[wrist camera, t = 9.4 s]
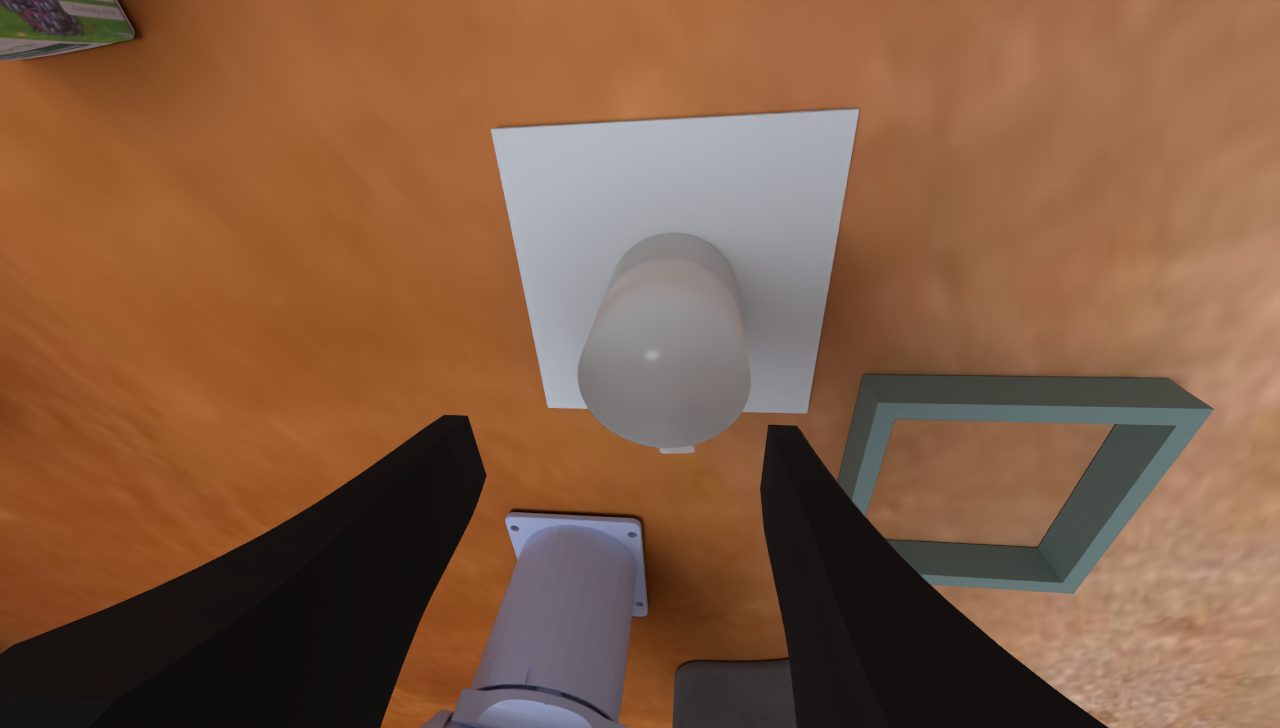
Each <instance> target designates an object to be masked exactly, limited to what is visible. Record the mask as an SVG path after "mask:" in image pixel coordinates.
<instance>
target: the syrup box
mask: <svg viewBox="0 0 1280 728" xmlns="http://www.w3.org/2000/svg"><path fill="white" fill-rule="evenodd" d="M134 35H135V31H134V29H133V27H132V25H131V24H130V22H129V20H128V19H127V17H126V15H125V13H124V11H123V10H122V8H121V6H120V4H119V3H118V1H117V0H0V61H11V60H21V59H30V58H37V57H44V56H52V55H58V54H63V53H68V52H73V51H79V50H84V49H89V48H94V47H98V46H103V45H109V44H113V43H116V42H122V41H127V40H132V39H133V38H134Z"/></svg>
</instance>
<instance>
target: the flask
mask: <svg viewBox="0 0 1280 728" xmlns="http://www.w3.org/2000/svg"><path fill="white" fill-rule="evenodd" d="M673 728H797V725H796V715H795V706H794V697H793V688H792V680H791V671H790V663H789V659H783V660H772V661H755V662H719V661H695V662H689V663H686V664H685V665H683V666H681V667H680V668H679V669H678V670H677V672H676V674H675V681H674V705H673Z"/></svg>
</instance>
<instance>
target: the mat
mask: <svg viewBox="0 0 1280 728" xmlns="http://www.w3.org/2000/svg"><path fill="white" fill-rule="evenodd" d="M858 114H859V109H856V108H849V109H830V110H812V111H794V112H775V113H757V114H739V115H720V116H702V117H684V118H665V119H647V120H629V121H610V122H592V123H573V124H555V125H537V126H518V127H500V128H494V129H491V132H492V137H493V142H494V147H495V151H496V156H497V161H498V166H499V171H500V176H501V181H502V186H503V191H504V195H505V200H506V205H507V210H508V215H509V220H510V225H511V230H512V234H513V239H514V244H515V249H516V254H517V259H518V264H519V269H520V274H521V278H522V283H523V288H524V293H525V298H526V303H527V308H528V313H529V318H530V322H531V327H532V332H533V337H534V342H535V347H536V352H537V357H538V361H539V366H540V371H541V376H542V381H543V386H544V391H545V396H546V401H547V405H548V408H581V409H588V407H587V406H586V404H585V402H584V400H583V398H582V395H581V393H580V390H579V385H578V373H577V371H578V363H579V359H580V356H581V353H582V350H583V348H584V345H585V343H586V340H587V338H588V335H589V333H590V330H591V328H592V325H593V322H594V320H595V317H596V315H597V312H598V310H599V307H600V305H601V302H602V300H603V297H604V295H605V292H606V289H607V287H608V284H609V282H610V279H611V277H612V274H613V272H614V269H615V267H616V265H617V263H618V262H619V260H620V259H621V257H622V256H623V255H624V254H625V253H626V252H627V251H628V250H629V249H630V248H631V247H632V246H634V245H635V244H637V243H638V242H640V241H642V240H644V239H646V238H648V237H651V236H655V235H659V234H665V233H681V234H687V235H691V236H694V237H697V238H700V239H702V240H704V241H706V242H708V243H709V244H711V245H712V246H714V247H715V248H716V249H717V250H718V251H719V252H720V253H721V254H722V255H723V256H724V257H725V258H726V260H727V261H728V263H729V265H730V266H731V268H732V271H733V273H734V276H735V280H736V285H737V291H738V298H739V304H740V310H741V317H742V323H743V329H744V336H745V342H746V349H747V355H748V361H749V368H750V376H751V387H750V393H749V397H748V400H747V403H746V405H745V407H744V409H743V411H742V412H761V413H805V414H807V411H808V405H809V399H810V393H811V387H812V382H813V376H814V370H815V364H816V358H817V352H818V347H819V341H820V335H821V329H822V323H823V318H824V312H825V306H826V300H827V294H828V288H829V283H830V277H831V271H832V265H833V259H834V254H835V248H836V242H837V236H838V230H839V224H840V219H841V213H842V207H843V201H844V195H845V190H846V184H847V178H848V172H849V166H850V160H851V155H852V149H853V143H854V137H855V131H856V125H857V120H858Z"/></svg>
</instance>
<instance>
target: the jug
mask: <svg viewBox="0 0 1280 728" xmlns="http://www.w3.org/2000/svg"><path fill="white" fill-rule="evenodd" d="M577 373H578V385H579V390H580V393H581V395H582V398H583V400H584V402H585V404H586V406H587V407H588V409H589V410H590V412H591V413H592V414H593V416H594V417H595V418H596V419H597V420H598V421H599V422H600V423H601V424H602V425H604V426H605V427H606V428H607V429H609V430H610V431H612V432H613V433H615V434H617V435H618V436H620V437H622V438H624V439H627V440H629V441H631V442H634V443H638V444H641V445H645V446H650V447H658V448H659V451H660V453H662V454H669V453H695V444H699V443H702V442H705V441H707V440H709V439H712V438H713V437H715V436H717V435H719V434H720V433H722V432H723V431H725V430H726V429H727V428H728V427H729V426H731V425H732V424H733V423H734V422H735V420H736V419H737V418H738V417H739V416H740V414H741V412H742V411H743V409H744V407H745V405H746V403H747V400H748V397H749V393H750V387H751V376H750V368H749V361H748V355H747V349H746V342H745V336H744V329H743V323H742V317H741V310H740V304H739V298H738V291H737V285H736V280H735V276H734V273H733V271H732V268H731V266H730V265H729V263H728V261H727V260H726V258H725V257H724V256H723V255H722V254H721V253H720V252H719V251H718V250H717V249H716V248H715V247H714V246H712V245H711V244H709V243H708V242H706V241H704V240H702V239H700V238H697V237H694V236H691V235H687V234H681V233H665V234H659V235H655V236H651V237H648V238H646V239H644V240H642V241H640V242H638V243H637V244H635V245H634V246H632V247H631V248H630V249H629V250H628V251H627V252H626V253H625V254H624V255H623V256H622V257H621V259H620V260H619V262H618V263H617V265H616V267H615V269H614V272H613V274H612V277H611V279H610V282H609V284H608V287H607V289H606V292H605V295H604V297H603V300H602V302H601V305H600V307H599V310H598V312H597V315H596V317H595V320H594V322H593V325H592V328H591V330H590V333H589V335H588V338H587V340H586V343H585V345H584V348H583V350H582V353H581V356H580V359H579V363H578V371H577Z"/></svg>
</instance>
